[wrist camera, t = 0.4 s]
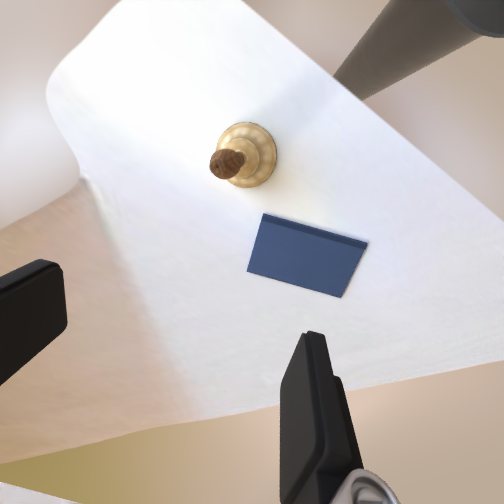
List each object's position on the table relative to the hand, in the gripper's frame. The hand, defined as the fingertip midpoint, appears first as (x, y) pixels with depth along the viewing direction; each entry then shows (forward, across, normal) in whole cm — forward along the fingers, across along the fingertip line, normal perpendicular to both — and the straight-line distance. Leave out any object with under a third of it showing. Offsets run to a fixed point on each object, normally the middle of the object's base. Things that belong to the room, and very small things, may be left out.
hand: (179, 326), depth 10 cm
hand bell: (+29, +2, -4) cm, 29 cm away
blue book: (+29, -10, +8) cm, 31 cm away
